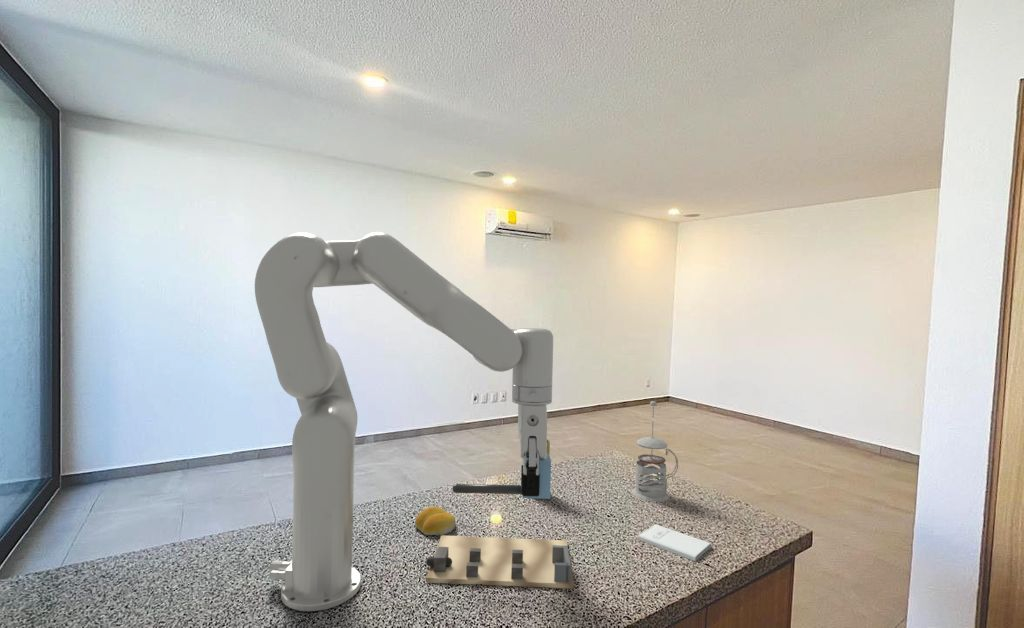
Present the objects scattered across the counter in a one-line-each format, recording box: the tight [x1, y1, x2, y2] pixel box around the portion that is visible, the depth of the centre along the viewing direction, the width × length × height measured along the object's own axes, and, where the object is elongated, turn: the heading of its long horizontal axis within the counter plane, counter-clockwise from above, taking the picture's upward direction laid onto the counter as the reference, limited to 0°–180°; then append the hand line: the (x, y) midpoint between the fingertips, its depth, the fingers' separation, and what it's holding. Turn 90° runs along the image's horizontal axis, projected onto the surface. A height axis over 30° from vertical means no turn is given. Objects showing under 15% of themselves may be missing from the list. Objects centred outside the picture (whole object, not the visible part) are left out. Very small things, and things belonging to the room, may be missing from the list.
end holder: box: [552, 545, 572, 582], centre depth 89 cm, size 3×7×3 cm, turn 179°
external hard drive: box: [637, 524, 712, 562], centre depth 103 cm, size 2×8×12 cm
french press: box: [631, 400, 679, 503], centre depth 130 cm, size 10×12×25 cm
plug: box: [452, 454, 552, 500], centre depth 92 cm, size 18×4×7 cm, turn 90°
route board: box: [425, 535, 575, 589], centre depth 93 cm, size 27×16×3 cm, turn 89°
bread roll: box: [414, 506, 457, 536], centre depth 107 cm, size 8×9×4 cm
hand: (529, 489), depth 92 cm, fingers closed on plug, 4 cm apart
